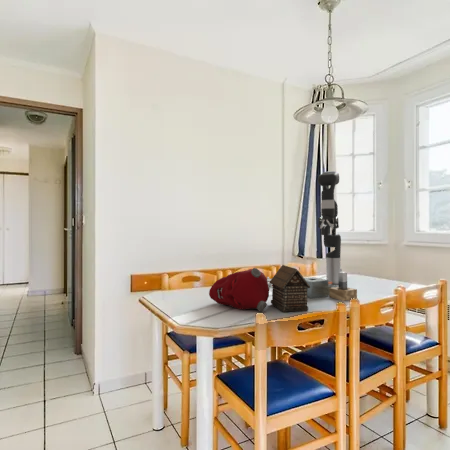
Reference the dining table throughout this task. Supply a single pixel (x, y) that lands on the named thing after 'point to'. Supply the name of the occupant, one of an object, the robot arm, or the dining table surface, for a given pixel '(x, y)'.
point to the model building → (289, 290)
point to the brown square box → (343, 293)
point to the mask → (242, 290)
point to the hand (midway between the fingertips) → (328, 235)
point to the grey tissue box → (318, 287)
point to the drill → (342, 280)
